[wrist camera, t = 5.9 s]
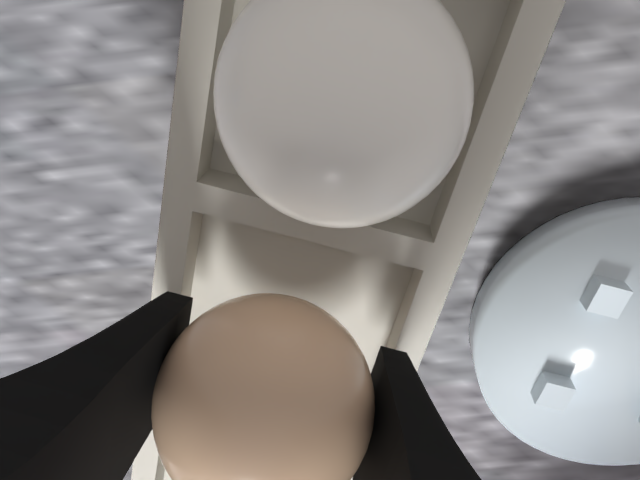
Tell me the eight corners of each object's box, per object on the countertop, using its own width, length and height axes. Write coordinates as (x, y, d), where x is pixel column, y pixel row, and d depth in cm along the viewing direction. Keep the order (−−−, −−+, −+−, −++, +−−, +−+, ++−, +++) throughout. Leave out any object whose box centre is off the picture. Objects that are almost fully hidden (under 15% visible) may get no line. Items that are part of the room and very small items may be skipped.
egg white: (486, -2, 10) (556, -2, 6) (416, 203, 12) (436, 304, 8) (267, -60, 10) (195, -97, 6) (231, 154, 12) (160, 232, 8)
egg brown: (399, 284, 12) (410, 433, 8) (349, 427, 14) (337, 606, 10) (206, 235, 12) (117, 358, 8) (183, 384, 14) (102, 546, 10)
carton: (548, -44, 11) (597, -56, 9) (337, 516, 19) (331, 595, 17) (234, -127, 11) (193, -163, 9) (153, 470, 19) (119, 541, 17)
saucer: (839, 241, 13) (899, 273, 12) (675, 460, 17) (705, 507, 15) (534, 162, 13) (555, 184, 12) (432, 398, 17) (437, 439, 15)
